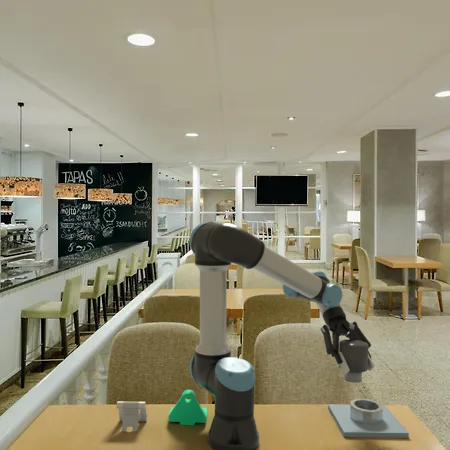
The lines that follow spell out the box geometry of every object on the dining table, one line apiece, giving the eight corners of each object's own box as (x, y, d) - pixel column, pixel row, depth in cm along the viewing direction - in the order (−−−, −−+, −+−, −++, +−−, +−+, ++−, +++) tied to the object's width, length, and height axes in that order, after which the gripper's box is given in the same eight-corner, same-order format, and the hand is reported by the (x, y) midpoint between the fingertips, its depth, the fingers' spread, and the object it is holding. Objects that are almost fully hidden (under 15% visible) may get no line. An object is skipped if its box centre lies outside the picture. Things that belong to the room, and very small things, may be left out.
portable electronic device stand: (147, 420, 150) (147, 394, 149) (143, 431, 142) (143, 405, 141) (120, 419, 149) (121, 394, 149) (115, 431, 142) (115, 404, 141)
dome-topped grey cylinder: (333, 379, 152) (334, 343, 151) (347, 372, 159) (347, 337, 158) (359, 387, 146) (360, 349, 145) (372, 379, 153) (373, 343, 152)
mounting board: (343, 436, 141) (344, 432, 141) (328, 408, 161) (328, 404, 161) (408, 437, 142) (408, 433, 142) (384, 409, 162) (384, 405, 162)
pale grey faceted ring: (344, 417, 151) (344, 404, 151) (359, 408, 159) (359, 396, 158) (373, 428, 144) (373, 414, 144) (387, 418, 152) (387, 405, 151)
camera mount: (207, 415, 154) (208, 385, 154) (205, 426, 147) (206, 394, 146) (171, 414, 155) (172, 383, 154) (168, 424, 147) (168, 393, 147)
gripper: (352, 314, 170) (380, 371, 156) (300, 319, 161) (326, 380, 148) (361, 303, 165) (392, 361, 151) (309, 307, 156) (336, 369, 142)
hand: (359, 370), depth 149 cm, fingers closed on dome-topped grey cylinder, 9 cm apart
